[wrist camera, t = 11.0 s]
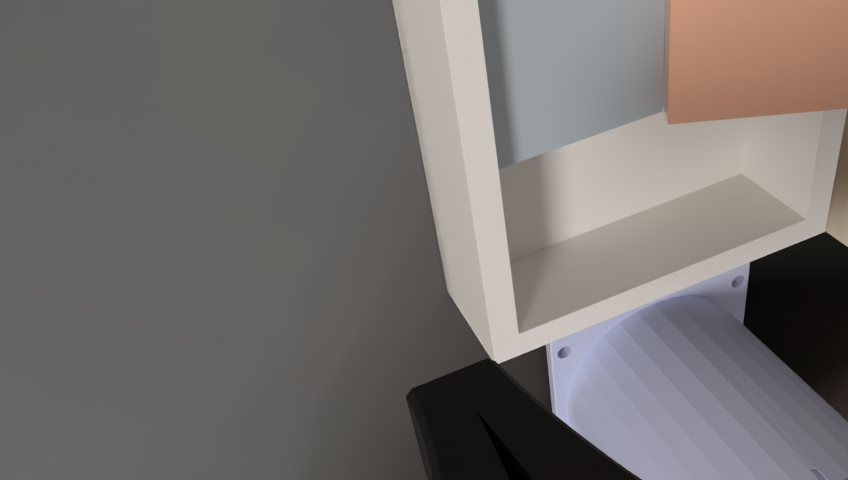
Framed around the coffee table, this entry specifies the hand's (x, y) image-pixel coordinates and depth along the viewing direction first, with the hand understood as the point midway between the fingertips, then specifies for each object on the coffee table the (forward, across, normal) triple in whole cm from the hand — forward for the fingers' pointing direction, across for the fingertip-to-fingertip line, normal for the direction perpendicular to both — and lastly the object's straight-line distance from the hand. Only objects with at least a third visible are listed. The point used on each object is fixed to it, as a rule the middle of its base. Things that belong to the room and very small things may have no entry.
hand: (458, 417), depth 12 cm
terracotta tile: (+8, -12, -1) cm, 14 cm away
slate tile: (+8, -6, -1) cm, 10 cm away
